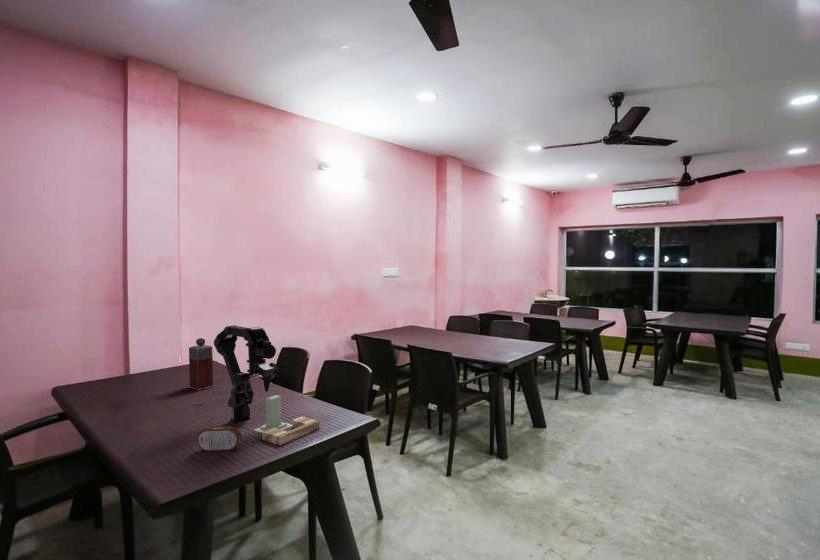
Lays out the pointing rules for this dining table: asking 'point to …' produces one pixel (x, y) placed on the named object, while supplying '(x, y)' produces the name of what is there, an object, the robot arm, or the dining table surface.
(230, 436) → the tin
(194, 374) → the glass decanter
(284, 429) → the mat
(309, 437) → the dining table surface
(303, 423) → the stand
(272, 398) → the mint green pillar
